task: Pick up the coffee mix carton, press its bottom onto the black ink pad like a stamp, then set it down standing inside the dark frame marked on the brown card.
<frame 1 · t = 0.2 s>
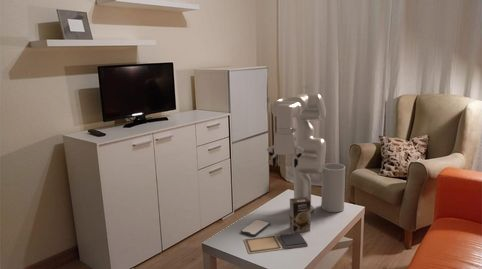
hand: (285, 166, 175), 36 cm above the table, tool pointing down, fingers open, 9 cm apart
ink pad: (292, 241, 178), on the table
phone case: (255, 229, 192), on the table
cylinder vase: (332, 208, 212), on the table, touching arm
coffee box: (300, 229, 190), on the table
marked card: (262, 244, 177), on the table
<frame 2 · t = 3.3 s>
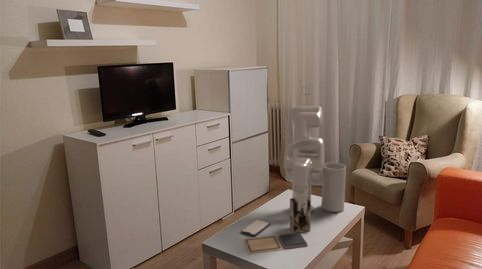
hand: (300, 219, 188), 5 cm above the table, tool pointing down, fingers closed on coffee box, 6 cm apart
coffee box: (300, 229, 190), on the table, touching gripper
everything else where it was.
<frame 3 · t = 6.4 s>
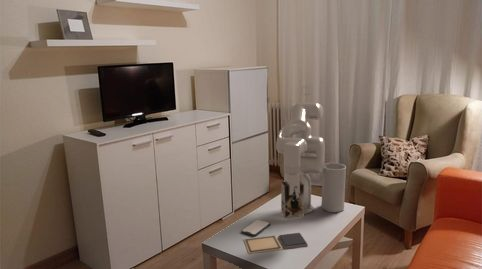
hand: (292, 205, 174), 19 cm above the table, tool pointing down, fingers closed on coffee box, 6 cm apart
coffee box: (292, 215, 175), point 13 cm above the table, touching gripper
everything else where it was.
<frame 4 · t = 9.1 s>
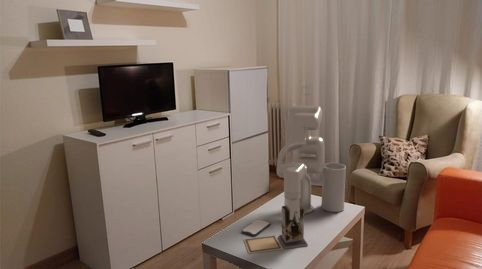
hand: (292, 228, 176), 7 cm above the table, tool pointing down, fingers closed on coffee box, 6 cm apart
coffee box: (292, 239, 178), point 1 cm above the table, touching gripper, ink pad
everything else where it was.
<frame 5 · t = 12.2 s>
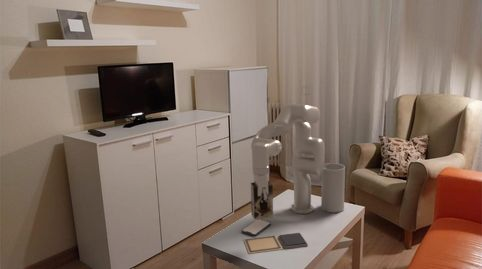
hand: (262, 206, 172), 20 cm above the table, tool pointing down, fingers closed on coffee box, 6 cm apart
cylinder vase: (332, 208, 212), on the table
coffee box: (262, 216, 173), point 14 cm above the table, touching gripper
everything else where it was.
when the fingers open (7 cm above the table, at t = 15.1 s): coffee box drops 1 cm, resting on marked card.
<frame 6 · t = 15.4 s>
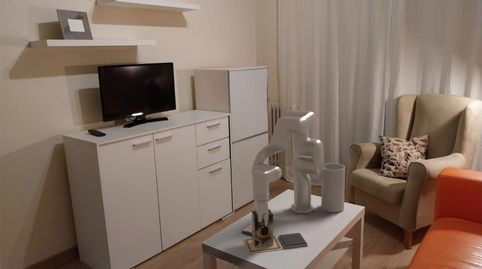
hand: (262, 229, 175), 8 cm above the table, tool pointing down, fingers open, 9 cm apart
coffee box: (263, 243, 177), resting on marked card
everything else where it was.
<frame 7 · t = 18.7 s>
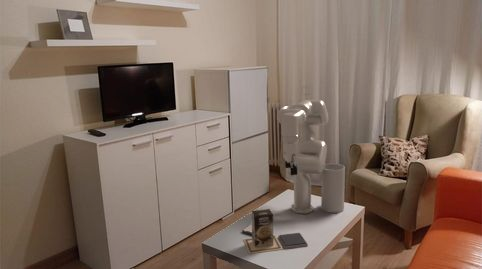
hand: (291, 171, 185), 31 cm above the table, tool pointing down, fingers open, 9 cm apart
cylinder vase: (332, 209, 212), on the table, touching arm
everything else where it was.
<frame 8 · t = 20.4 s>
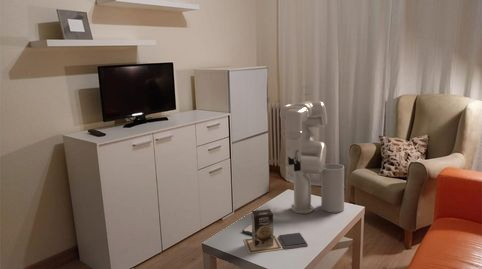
hand: (294, 167, 186), 32 cm above the table, tool pointing down, fingers open, 9 cm apart
at the end: coffee box 0.3 cm off-centre on the marked card, point 0.1 cm above the marked card's base; coffee box tilted 0°; the gripper is holding nothing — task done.
